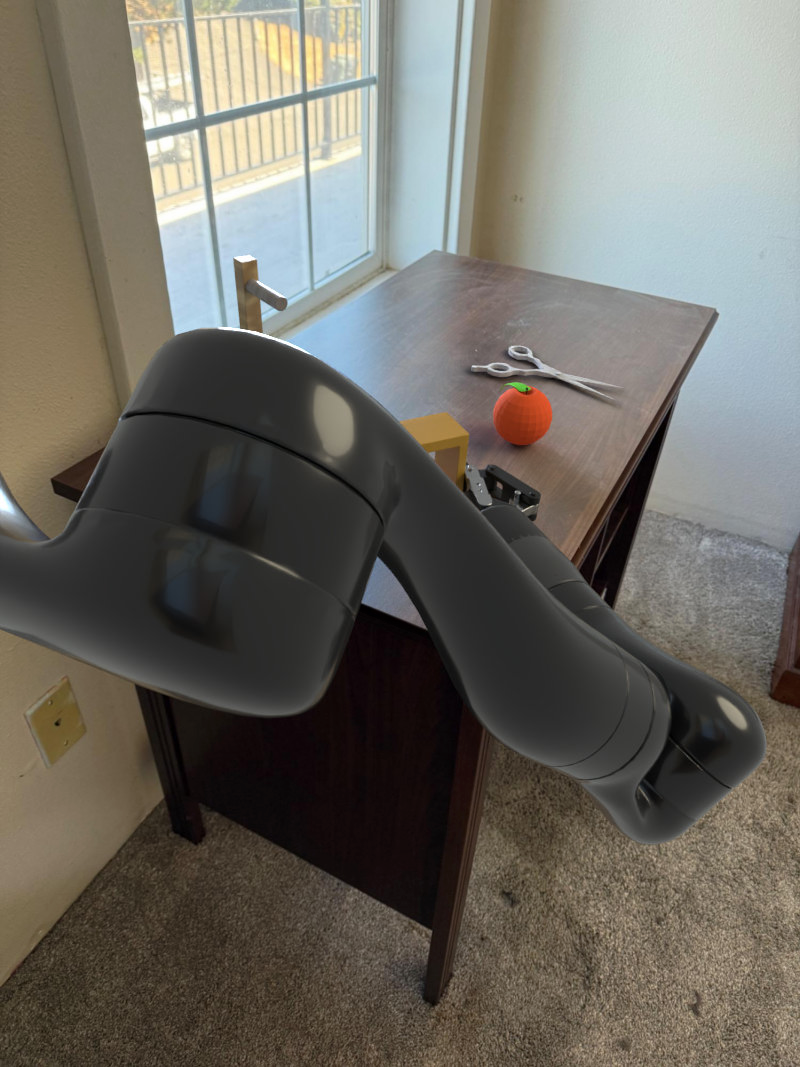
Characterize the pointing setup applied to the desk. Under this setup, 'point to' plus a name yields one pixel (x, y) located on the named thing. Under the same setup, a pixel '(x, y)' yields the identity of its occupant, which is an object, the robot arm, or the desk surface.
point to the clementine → (522, 414)
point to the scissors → (534, 370)
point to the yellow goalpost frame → (442, 442)
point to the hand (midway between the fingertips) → (414, 462)
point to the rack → (253, 294)
